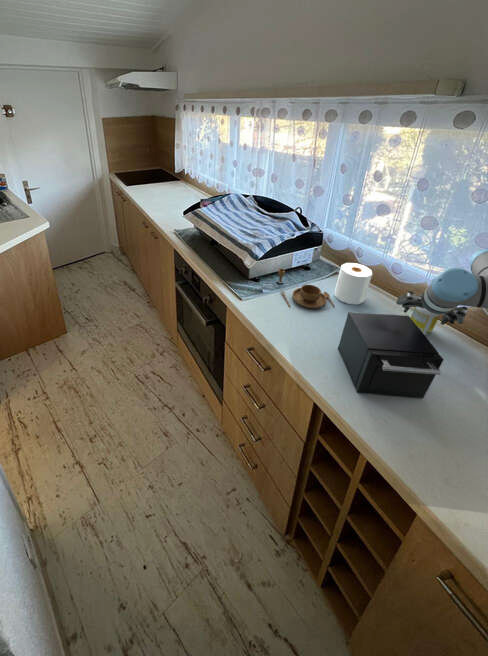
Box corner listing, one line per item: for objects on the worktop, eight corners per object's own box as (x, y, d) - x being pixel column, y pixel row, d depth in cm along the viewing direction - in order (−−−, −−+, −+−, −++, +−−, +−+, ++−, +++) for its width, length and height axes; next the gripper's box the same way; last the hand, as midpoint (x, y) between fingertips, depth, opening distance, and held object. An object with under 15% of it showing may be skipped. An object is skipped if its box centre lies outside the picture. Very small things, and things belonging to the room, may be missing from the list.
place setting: (290, 311, 109) (292, 297, 106) (274, 280, 127) (276, 268, 124) (338, 309, 110) (342, 296, 107) (315, 279, 127) (318, 267, 124)
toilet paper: (353, 287, 121) (360, 261, 116) (369, 303, 112) (379, 275, 107) (329, 290, 120) (335, 263, 115) (343, 306, 111) (351, 278, 106)
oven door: (430, 409, 75) (452, 370, 68) (361, 403, 76) (376, 364, 70) (419, 393, 79) (439, 354, 72) (354, 387, 80) (368, 349, 74)
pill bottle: (431, 327, 101) (444, 298, 95) (431, 338, 96) (445, 309, 91) (407, 320, 104) (419, 292, 99) (406, 330, 99) (419, 302, 94)
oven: (419, 392, 79) (439, 353, 72) (354, 387, 81) (368, 348, 74) (393, 352, 91) (408, 315, 85) (337, 348, 93) (348, 312, 86)
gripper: (499, 300, 76) (470, 316, 95) (397, 272, 88) (389, 292, 107) (491, 327, 75) (463, 339, 94) (389, 296, 87) (382, 312, 106)
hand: (424, 314), depth 100 cm, fingers open, 9 cm apart
